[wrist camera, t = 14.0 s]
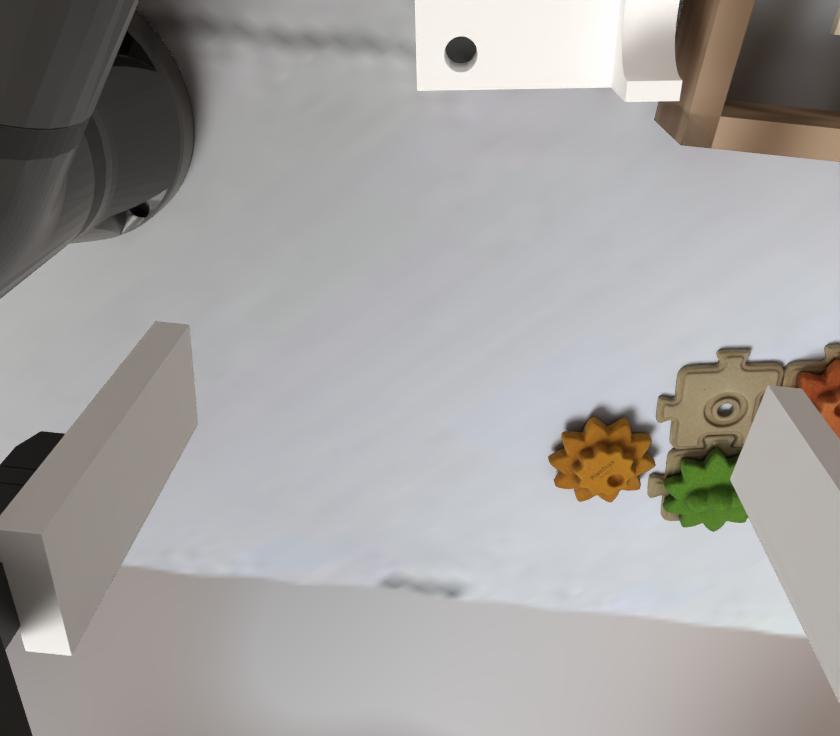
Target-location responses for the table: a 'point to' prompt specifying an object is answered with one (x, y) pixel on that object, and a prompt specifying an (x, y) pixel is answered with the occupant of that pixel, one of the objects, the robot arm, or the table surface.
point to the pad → (836, 23)
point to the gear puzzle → (694, 437)
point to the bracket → (551, 46)
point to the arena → (757, 78)
